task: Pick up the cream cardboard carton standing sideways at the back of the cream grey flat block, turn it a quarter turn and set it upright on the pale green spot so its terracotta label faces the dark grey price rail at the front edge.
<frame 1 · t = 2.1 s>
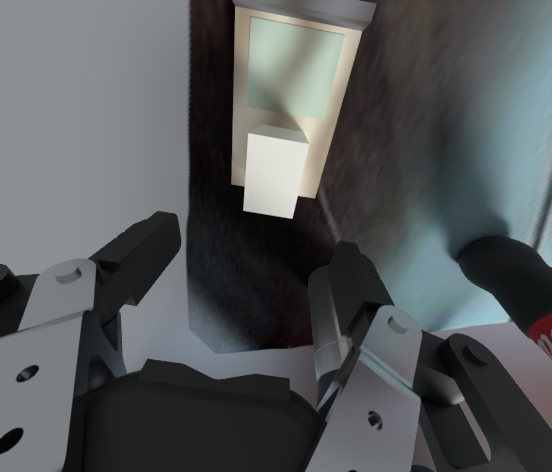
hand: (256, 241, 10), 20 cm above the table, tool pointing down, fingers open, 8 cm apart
cream grey flat block: (284, 117, 24), on the table
carton: (278, 158, 25), point 1 cm above the table, touching cream grey flat block
cola bottle: (480, 251, 33), on the table
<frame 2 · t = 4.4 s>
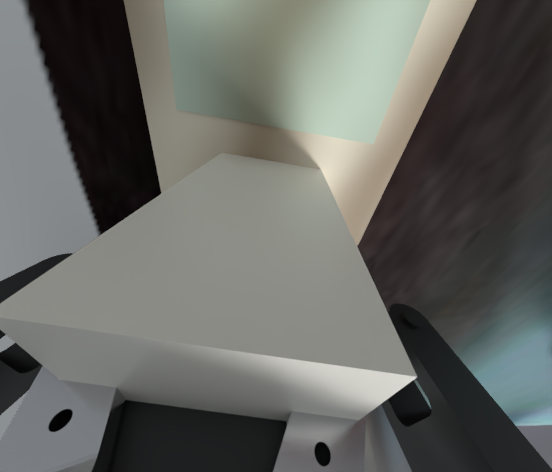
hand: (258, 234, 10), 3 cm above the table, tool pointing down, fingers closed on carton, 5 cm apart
cream grey flat block: (276, 135, 10), on the table
carton: (264, 221, 12), point 2 cm above the table, touching gripper, cream grey flat block
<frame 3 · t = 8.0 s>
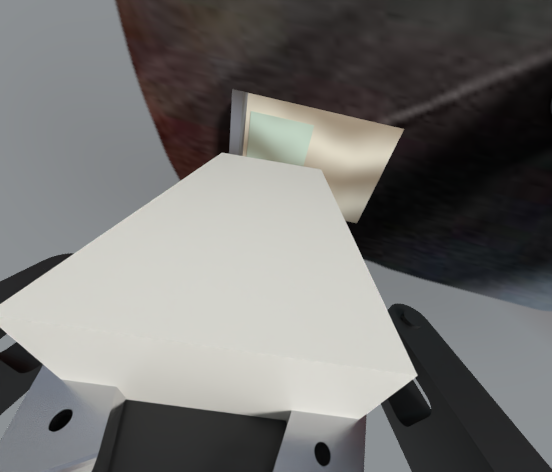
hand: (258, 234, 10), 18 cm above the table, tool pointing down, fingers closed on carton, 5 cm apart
cream grey flat block: (306, 164, 25), on the table
carton: (264, 221, 12), point 16 cm above the table, touching gripper
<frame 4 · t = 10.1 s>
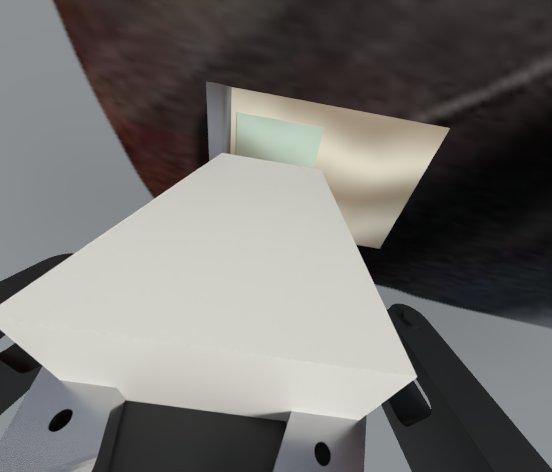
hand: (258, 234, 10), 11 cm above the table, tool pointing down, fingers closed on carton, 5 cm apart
cream grey flat block: (313, 177, 19), on the table
carton: (264, 221, 12), point 9 cm above the table, touching gripper
when the fingers open (4 cm above the table, at t = 11.7 s): carton drops 1 cm, resting on cream grey flat block.
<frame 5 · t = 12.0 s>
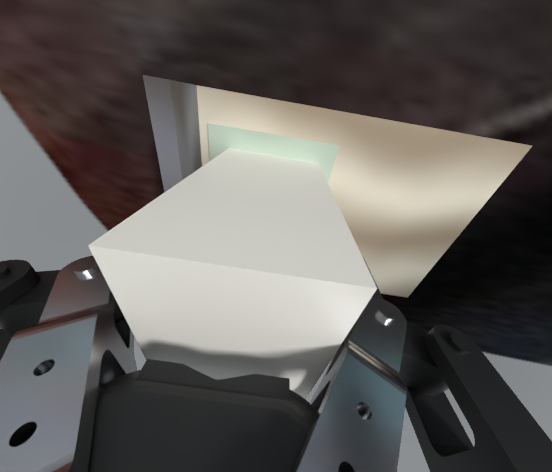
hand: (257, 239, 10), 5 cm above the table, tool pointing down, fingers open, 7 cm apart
cream grey flat block: (321, 209, 14), on the table
carton: (266, 211, 13), point 2 cm above the table, touching cream grey flat block
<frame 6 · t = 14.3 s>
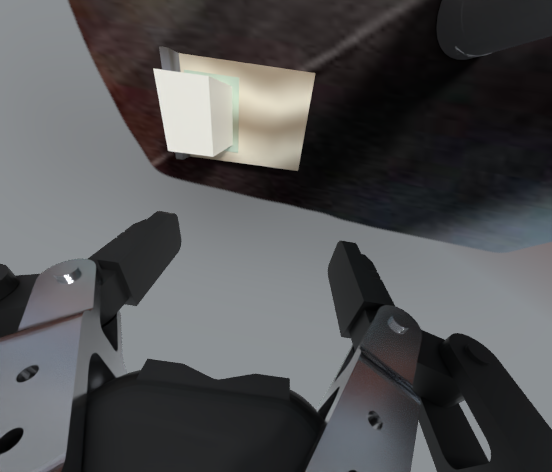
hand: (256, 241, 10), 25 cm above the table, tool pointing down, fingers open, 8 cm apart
cream grey flat block: (244, 118, 29), on the table
carton: (214, 115, 27), point 2 cm above the table, touching cream grey flat block
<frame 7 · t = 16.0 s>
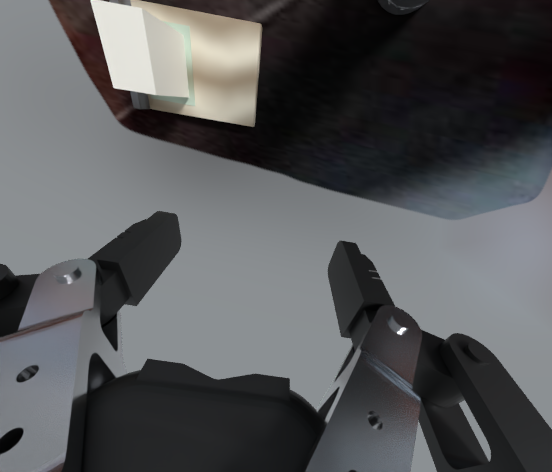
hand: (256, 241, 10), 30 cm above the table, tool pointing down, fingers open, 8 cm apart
cream grey flat block: (200, 71, 30), on the table
carton: (169, 65, 28), point 2 cm above the table, touching cream grey flat block
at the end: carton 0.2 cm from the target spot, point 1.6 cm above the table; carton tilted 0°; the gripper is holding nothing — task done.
